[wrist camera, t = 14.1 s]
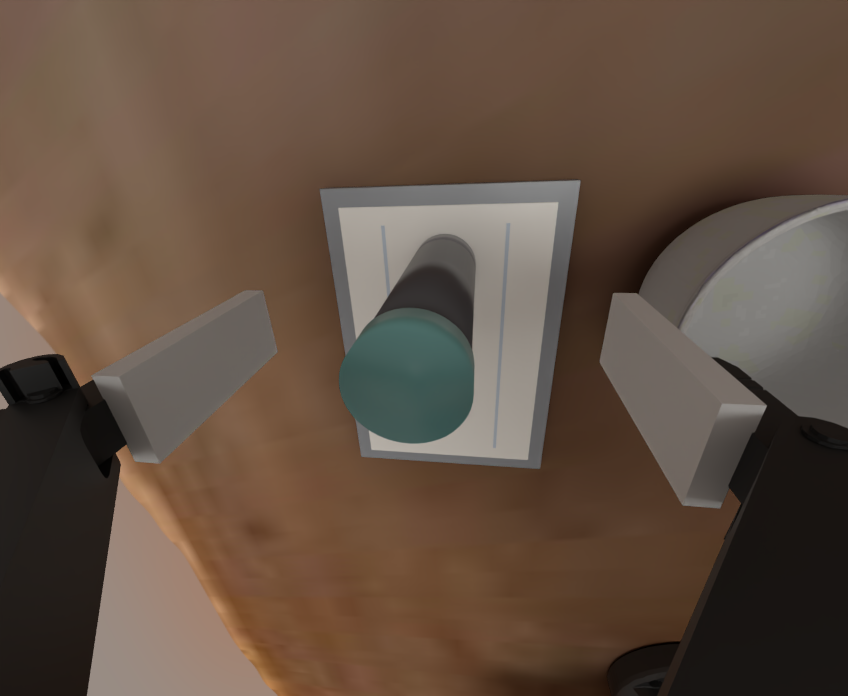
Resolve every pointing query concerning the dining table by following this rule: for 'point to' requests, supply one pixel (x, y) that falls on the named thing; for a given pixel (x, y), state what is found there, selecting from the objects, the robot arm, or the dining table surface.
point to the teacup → (766, 296)
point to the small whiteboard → (493, 302)
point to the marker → (417, 349)
